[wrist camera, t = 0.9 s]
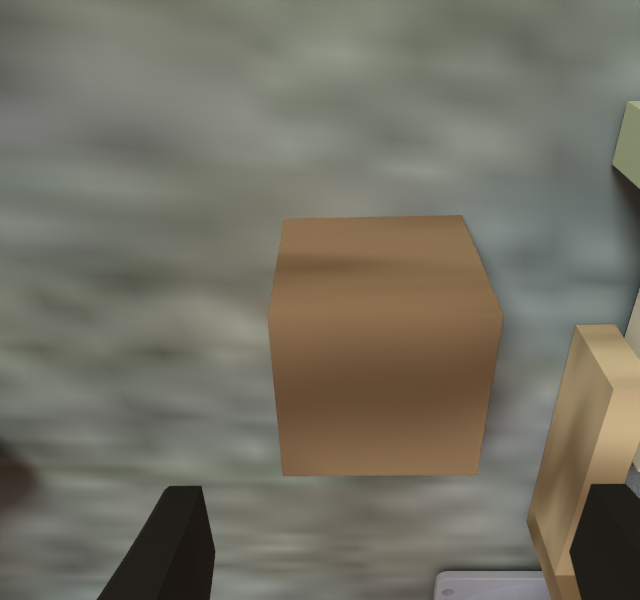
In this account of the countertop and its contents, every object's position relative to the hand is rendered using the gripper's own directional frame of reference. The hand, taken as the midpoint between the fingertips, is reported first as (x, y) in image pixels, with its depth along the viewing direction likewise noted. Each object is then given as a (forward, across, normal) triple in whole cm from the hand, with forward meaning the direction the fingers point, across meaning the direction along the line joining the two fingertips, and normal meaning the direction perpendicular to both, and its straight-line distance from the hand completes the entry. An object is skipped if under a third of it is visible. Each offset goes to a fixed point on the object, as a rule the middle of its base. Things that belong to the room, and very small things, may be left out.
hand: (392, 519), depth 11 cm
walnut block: (+8, 0, 0) cm, 8 cm away
